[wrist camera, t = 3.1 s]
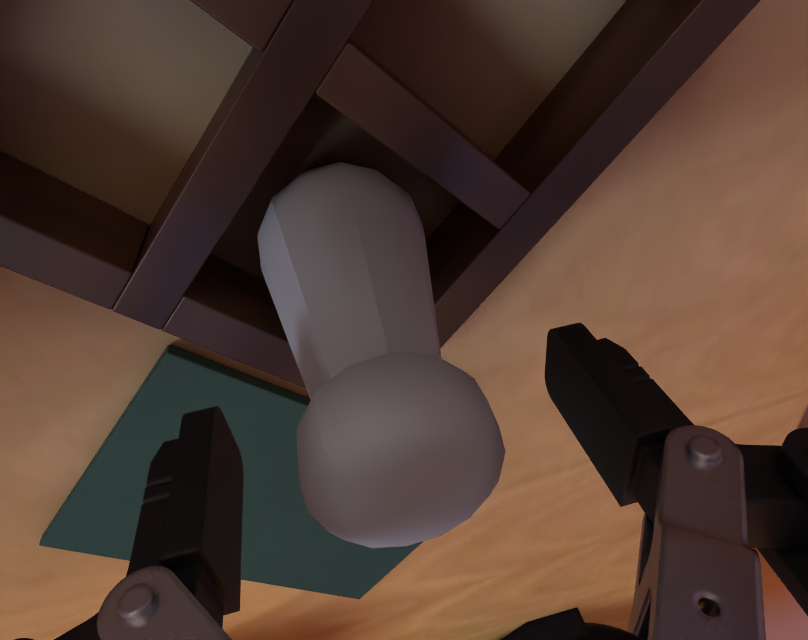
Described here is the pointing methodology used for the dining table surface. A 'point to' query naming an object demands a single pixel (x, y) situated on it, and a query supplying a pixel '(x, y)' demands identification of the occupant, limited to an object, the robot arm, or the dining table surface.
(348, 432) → the salt shaker
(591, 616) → the dining table surface
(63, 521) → the placemat
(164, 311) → the stand
